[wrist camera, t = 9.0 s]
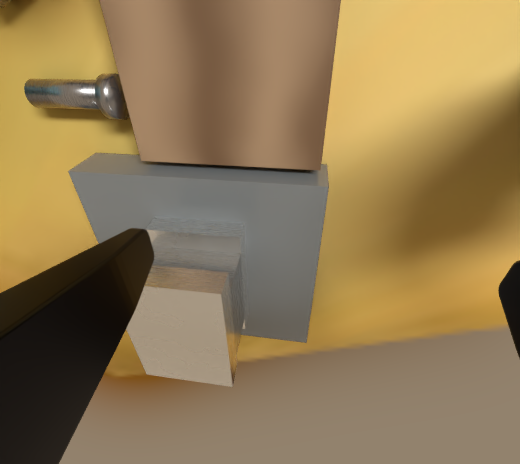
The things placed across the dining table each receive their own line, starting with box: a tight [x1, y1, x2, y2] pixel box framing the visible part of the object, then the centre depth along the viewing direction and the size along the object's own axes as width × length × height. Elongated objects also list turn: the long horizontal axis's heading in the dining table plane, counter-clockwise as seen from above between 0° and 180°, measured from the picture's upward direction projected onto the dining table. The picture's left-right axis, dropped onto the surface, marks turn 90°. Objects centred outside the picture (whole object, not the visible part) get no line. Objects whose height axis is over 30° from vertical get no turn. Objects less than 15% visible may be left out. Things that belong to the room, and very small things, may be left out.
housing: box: [126, 216, 249, 387], centre depth 20 cm, size 6×9×6 cm, turn 0°
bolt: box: [24, 74, 130, 120], centre depth 18 cm, size 6×2×2 cm, turn 90°
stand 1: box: [100, 0, 341, 170], centre depth 16 cm, size 11×11×2 cm
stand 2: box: [68, 153, 329, 343], centre depth 23 cm, size 16×15×3 cm
